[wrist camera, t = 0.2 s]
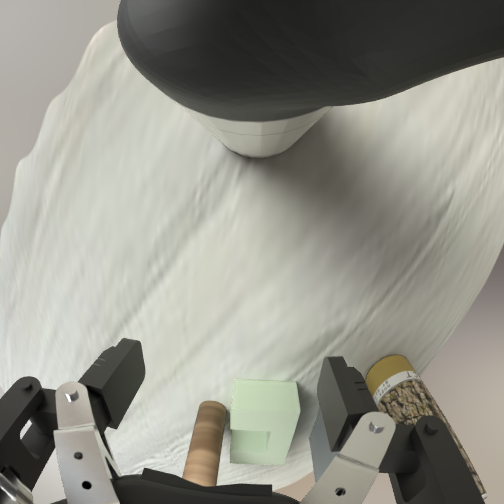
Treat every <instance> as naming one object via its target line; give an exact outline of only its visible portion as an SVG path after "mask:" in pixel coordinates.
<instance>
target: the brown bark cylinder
mask: <svg viewBox="0 0 504 504" xmlns="http://www.w3.org/2000/svg"><path fill="white" fill-rule="evenodd" d="M366 384H367V387H368V390H369V391H370V393H371V395H372V397H373V399H374V401H375V403H376V405H377V407H378V410H379V412H381V413H385V414H387V415H389V416H390V417H391V418H392V419H393V420H394V422H395V424H404V425H415V424H416V422H417V420H418V419H419V418H421V417H423V416H427V415H431V416H436V417H438V418H440V419H441V420H443V421H444V423H445V424H446V426H447V428H448V429H449V431H450V433H451V435H452V437H453V439H454V440H455V442H456V444H457V446H458V448H459V450H460V452H461V454H462V456H463V457H464V459H465V461H466V463H467V465H468V467H469V469H470V472H471V474H472V476H473V478H474V480H475V482H476V484H477V486H478V489H479V491H480V493H481V495H482V498H483V500H484V499H486V498H487V497H486V495H487V493H486V491H485V489H484V487H483V484H482V483H481V480H480V479H479V476H478V475H477V473H476V471H475V469H474V467H473V465H472V463H471V461H470V459H469V457H468V456H467V454H466V452H465V450H464V448H463V447H462V445H461V443H460V441H459V440H458V438H457V436H456V434H455V433H454V431H453V429H452V428H451V426H450V424H449V423H448V421H447V419H446V418H445V416H444V414H443V413H442V411H441V410H440V408H439V406H438V405H437V404H436V402H435V400H434V399H433V397H432V396H431V394H430V392H429V391H428V389H427V388H426V386H425V385H424V383H423V382H422V380H421V379H420V377H419V376H418V374H417V373H416V372H415V370H414V369H413V367H412V366H411V364H410V363H409V362H408V360H407V359H406V358H405V357H403V356H400V355H391V356H388V357H385V358H383V359H381V360H380V361H378V362H377V363H376V364H375V365H374V366H373V367H372V368H371V369H370V371H369V372H368V375H367V377H366Z"/></svg>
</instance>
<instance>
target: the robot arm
mask: <svg viewBox="0 0 504 504" xmlns="http://www.w3.org/2000/svg"><path fill="white" fill-rule="evenodd" d="M117 28H118V34H119V38H120V41H121V44H122V47H123V49H124V51H125V53H126V55H127V57H128V58H129V60H130V61H131V62H132V64H133V65H134V66H135V68H136V69H137V70H138V71H139V72H140V73H141V74H142V75H143V76H144V77H145V78H146V79H147V80H149V81H150V82H151V83H152V84H153V85H154V86H156V87H157V88H158V89H159V90H161V91H162V92H163V93H164V94H165V95H167V96H168V97H169V98H170V99H172V100H173V101H174V102H175V103H177V104H178V105H179V106H180V107H181V108H183V109H184V110H185V111H186V112H188V113H189V114H190V115H191V116H192V117H193V118H195V119H196V120H197V121H198V122H199V123H200V124H202V125H203V126H204V127H205V128H206V129H207V130H208V131H210V132H211V133H212V134H213V135H214V136H215V137H216V138H217V139H219V140H220V141H221V142H222V143H223V144H224V145H225V146H226V147H228V148H229V149H231V150H232V151H234V152H236V153H238V154H241V155H243V156H247V157H253V158H266V157H270V156H274V155H277V154H279V153H281V152H283V151H285V150H287V149H288V148H289V147H291V146H292V145H293V144H294V143H295V142H296V141H297V140H298V139H299V138H300V137H301V136H302V135H303V134H304V133H305V132H307V131H308V130H309V129H310V128H311V127H312V126H313V125H314V124H315V123H316V122H317V121H318V120H319V119H320V118H321V117H322V116H323V115H324V114H325V113H326V112H327V111H328V110H330V109H331V108H332V107H333V106H343V105H354V104H360V103H366V102H371V101H376V100H380V99H383V98H387V97H389V96H392V95H395V94H397V93H400V92H403V91H405V90H407V89H410V88H412V87H415V86H417V85H420V84H422V83H425V82H427V81H430V80H432V79H435V78H438V77H441V76H443V75H446V74H449V73H452V72H455V71H458V70H461V69H464V68H467V67H471V66H474V65H477V64H481V63H484V62H487V61H491V60H495V59H498V58H502V57H504V0H121V2H120V5H119V10H118V17H117ZM144 377H145V364H144V359H143V353H142V347H141V343H140V341H137V340H132V339H127V338H123V339H122V340H121V341H120V342H119V343H118V345H117V346H116V347H113V346H112V347H110V348H109V349H107V350H105V351H103V353H102V354H101V355H100V356H99V357H98V359H97V360H96V361H95V362H94V364H92V365H91V367H90V368H89V369H88V370H87V371H86V372H85V374H84V375H83V376H82V377H81V378H80V380H79V381H78V382H67V383H64V384H62V385H61V386H60V387H58V389H57V390H52V389H44V388H42V386H41V384H40V382H39V380H38V379H37V378H35V377H31V376H27V377H23V378H20V379H19V380H17V381H16V382H15V383H14V384H13V385H12V387H11V388H10V389H9V390H8V391H7V392H6V393H5V394H4V395H3V397H2V398H1V399H0V504H34V503H33V496H32V493H31V492H32V490H33V488H34V486H35V484H36V482H37V480H38V478H39V476H40V474H41V472H42V471H43V469H44V467H45V465H46V463H47V461H48V460H49V458H50V456H51V454H52V452H53V451H54V449H55V447H56V453H57V459H58V464H59V469H60V474H61V479H62V482H63V487H64V491H65V495H66V499H63V500H61V501H57V502H54V503H51V504H362V502H363V501H364V499H365V497H366V495H367V494H368V492H369V490H370V488H371V486H372V485H373V483H374V481H375V478H376V477H377V475H378V473H388V474H389V477H390V481H391V484H392V488H393V492H394V496H395V499H396V503H397V504H485V502H484V500H483V498H482V495H481V493H480V491H479V489H478V486H477V484H476V482H475V480H474V478H473V476H472V474H471V472H470V469H469V467H468V465H467V463H466V461H465V459H464V457H463V456H462V454H461V452H460V450H459V448H458V446H457V444H456V442H455V440H454V439H453V437H452V435H451V433H450V431H449V429H448V428H447V426H446V424H445V423H444V421H443V420H441V419H440V418H438V417H436V416H431V415H427V416H423V417H421V418H419V419H418V420H417V422H416V424H415V425H404V424H395V422H394V420H393V419H392V418H391V417H390V416H389V415H387V414H385V413H381V412H379V410H378V407H377V405H376V403H375V401H374V399H373V397H372V395H371V393H370V391H369V390H368V387H367V384H366V383H365V380H364V378H363V376H362V374H361V373H360V372H359V371H357V370H356V369H355V368H354V367H347V364H346V362H345V360H344V358H343V357H342V356H338V357H325V358H324V361H323V365H322V369H321V373H320V377H319V381H318V386H317V395H318V400H319V404H320V408H321V412H322V416H323V420H324V425H325V429H326V433H327V437H328V442H329V446H330V450H331V452H338V451H340V453H339V454H337V455H336V457H335V458H334V459H333V461H332V462H331V464H330V465H329V466H328V468H327V469H326V471H325V472H324V473H323V475H322V476H321V477H320V479H319V480H318V481H317V482H316V484H315V485H314V486H313V488H312V489H311V490H310V491H309V493H308V494H307V495H306V496H305V497H304V498H303V500H302V501H301V502H299V501H297V500H295V499H293V498H291V497H289V496H286V495H283V494H280V493H275V492H272V485H261V484H231V485H221V486H202V485H199V484H196V483H194V482H191V481H188V480H186V479H183V478H181V477H178V476H176V475H173V474H169V473H164V472H160V471H156V470H152V469H148V468H144V470H143V473H142V474H134V475H124V476H122V475H121V473H120V471H119V469H118V467H117V464H116V462H115V459H114V457H113V454H112V451H111V448H110V445H109V442H108V439H107V436H106V434H105V430H106V428H107V427H110V428H114V429H117V428H118V426H119V424H120V422H121V421H122V419H123V417H124V415H125V413H126V411H127V409H128V408H129V406H130V404H131V402H132V400H133V399H134V397H135V395H136V393H137V391H138V390H139V388H140V386H141V384H142V382H143V380H144ZM29 419H30V421H31V423H32V425H31V426H30V428H29V429H28V431H27V432H26V433H25V435H24V436H23V438H22V439H20V432H21V430H22V428H23V427H24V426H25V424H26V423H27V422H28V420H29Z"/></svg>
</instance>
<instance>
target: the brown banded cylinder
mask: <svg viewBox="0 0 504 504" xmlns="http://www.w3.org/2000/svg"><path fill="white" fill-rule="evenodd" d="M225 419H226V408H225V406H224V405H222V404H221V403H218V402H215V401H205V402H203V403H201V404H200V406H199V410H198V414H197V418H196V422H195V426H194V430H193V434H192V439H191V443H190V447H189V451H188V455H187V459H186V464H185V468H184V472H183V476H182V478H183V479H186V480H188V481H191V482H194V483H196V484H199V485H202V486H216V484H217V477H218V469H219V462H220V455H221V447H222V440H223V433H224V426H225Z"/></svg>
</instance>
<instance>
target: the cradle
mask: <svg viewBox="0 0 504 504" xmlns="http://www.w3.org/2000/svg"><path fill="white" fill-rule="evenodd" d="M300 412H301V411H300V404H299V397H298V391H297V384H296V381H263V380H246V379H234V386H233V394H232V402H231V419H230V429H232V437H231V446H230V463H237V464H253V465H284V463H285V460H286V457H287V454H288V451H289V448H290V445H291V441H292V438H293V435H294V432H295V429H296V425H297V422H298V418H299V415H300Z"/></svg>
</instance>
